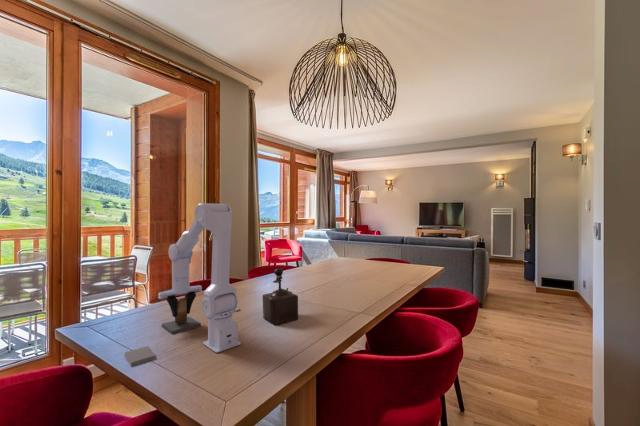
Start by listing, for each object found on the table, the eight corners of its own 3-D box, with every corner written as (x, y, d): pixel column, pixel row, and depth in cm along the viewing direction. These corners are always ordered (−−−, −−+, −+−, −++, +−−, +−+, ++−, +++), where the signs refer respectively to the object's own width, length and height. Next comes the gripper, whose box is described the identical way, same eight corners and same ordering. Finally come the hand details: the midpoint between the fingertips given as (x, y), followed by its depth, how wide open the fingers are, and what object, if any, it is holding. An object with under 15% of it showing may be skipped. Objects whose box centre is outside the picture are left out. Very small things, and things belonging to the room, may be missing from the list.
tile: (148, 350, 89) (155, 360, 83) (124, 357, 85) (130, 368, 79) (148, 345, 89) (155, 355, 83) (124, 352, 85) (130, 362, 79)
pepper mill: (300, 319, 112) (300, 272, 112) (274, 326, 106) (273, 276, 106) (281, 309, 125) (280, 266, 125) (256, 314, 118) (256, 269, 119)
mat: (200, 326, 107) (200, 323, 107) (171, 334, 100) (171, 331, 100) (189, 319, 114) (189, 316, 114) (161, 326, 107) (161, 323, 107)
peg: (188, 321, 107) (188, 299, 107) (177, 324, 104) (177, 301, 104) (184, 318, 110) (184, 297, 110) (173, 321, 107) (173, 299, 107)
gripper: (196, 272, 115) (196, 307, 115) (155, 278, 104) (155, 317, 104) (204, 275, 110) (204, 311, 110) (162, 281, 99) (162, 322, 99)
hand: (181, 314), depth 107 cm, fingers closed on peg, 4 cm apart
